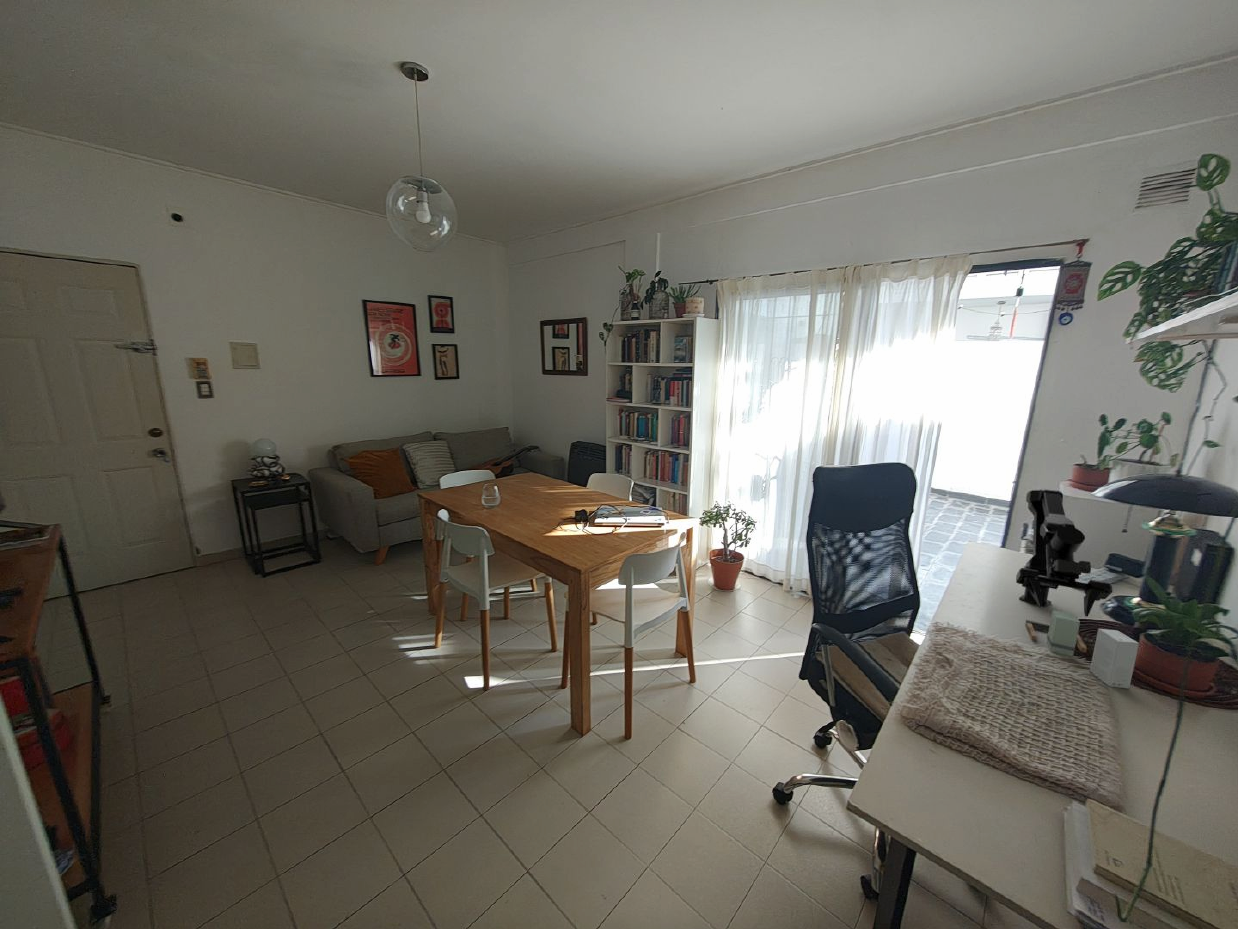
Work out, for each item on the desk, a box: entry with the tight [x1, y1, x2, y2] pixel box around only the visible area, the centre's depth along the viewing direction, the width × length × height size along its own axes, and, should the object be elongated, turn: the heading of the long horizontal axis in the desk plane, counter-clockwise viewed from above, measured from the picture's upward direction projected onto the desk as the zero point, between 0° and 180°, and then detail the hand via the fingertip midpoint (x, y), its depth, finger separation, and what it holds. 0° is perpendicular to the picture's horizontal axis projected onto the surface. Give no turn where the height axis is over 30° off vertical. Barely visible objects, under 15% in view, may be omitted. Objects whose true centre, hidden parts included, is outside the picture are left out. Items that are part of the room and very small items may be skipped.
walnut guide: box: [1025, 619, 1088, 654], centre depth 127 cm, size 10×11×2 cm
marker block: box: [1046, 609, 1081, 657], centre depth 121 cm, size 5×5×10 cm
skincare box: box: [1089, 628, 1140, 689], centre depth 108 cm, size 6×4×12 cm
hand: (1063, 611), depth 123 cm, fingers open, 9 cm apart
